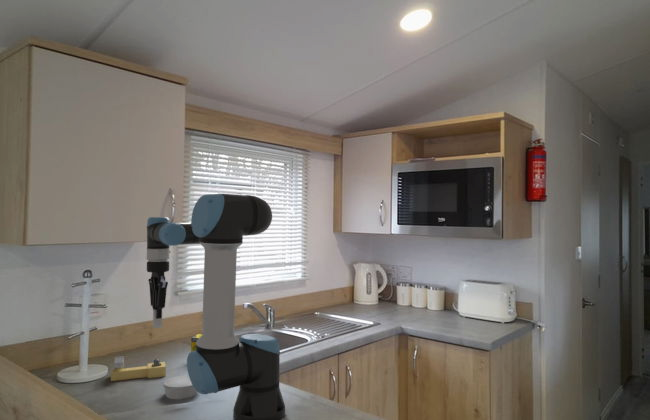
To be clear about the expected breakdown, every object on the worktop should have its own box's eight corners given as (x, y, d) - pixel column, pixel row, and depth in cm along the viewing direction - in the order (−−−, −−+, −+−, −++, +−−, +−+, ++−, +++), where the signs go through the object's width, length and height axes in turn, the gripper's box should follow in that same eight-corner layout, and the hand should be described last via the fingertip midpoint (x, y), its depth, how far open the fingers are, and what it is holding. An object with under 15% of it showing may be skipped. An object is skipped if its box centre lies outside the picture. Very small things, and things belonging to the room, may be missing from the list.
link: (164, 370, 170) (164, 361, 170) (165, 376, 165) (165, 366, 165) (111, 377, 163) (111, 367, 163) (110, 382, 158) (110, 372, 158)
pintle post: (159, 375, 166) (159, 360, 166) (153, 376, 165) (153, 360, 165) (159, 373, 168) (159, 358, 168) (153, 374, 167) (153, 359, 167)
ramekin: (206, 396, 149) (206, 380, 149) (175, 407, 141) (175, 390, 141) (187, 388, 156) (187, 372, 156) (157, 397, 148) (157, 381, 148)
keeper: (123, 381, 160) (123, 362, 160) (113, 382, 159) (113, 363, 159) (123, 374, 167) (124, 356, 167) (114, 375, 166) (115, 356, 166)
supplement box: (204, 366, 179) (204, 338, 180) (190, 365, 180) (190, 337, 181) (210, 361, 185) (211, 334, 185) (196, 360, 186) (197, 333, 186)
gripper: (175, 261, 160) (174, 329, 159) (162, 258, 170) (161, 322, 169) (153, 262, 155) (152, 332, 155) (141, 259, 165) (140, 325, 165)
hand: (157, 327), depth 162 cm, fingers closed
